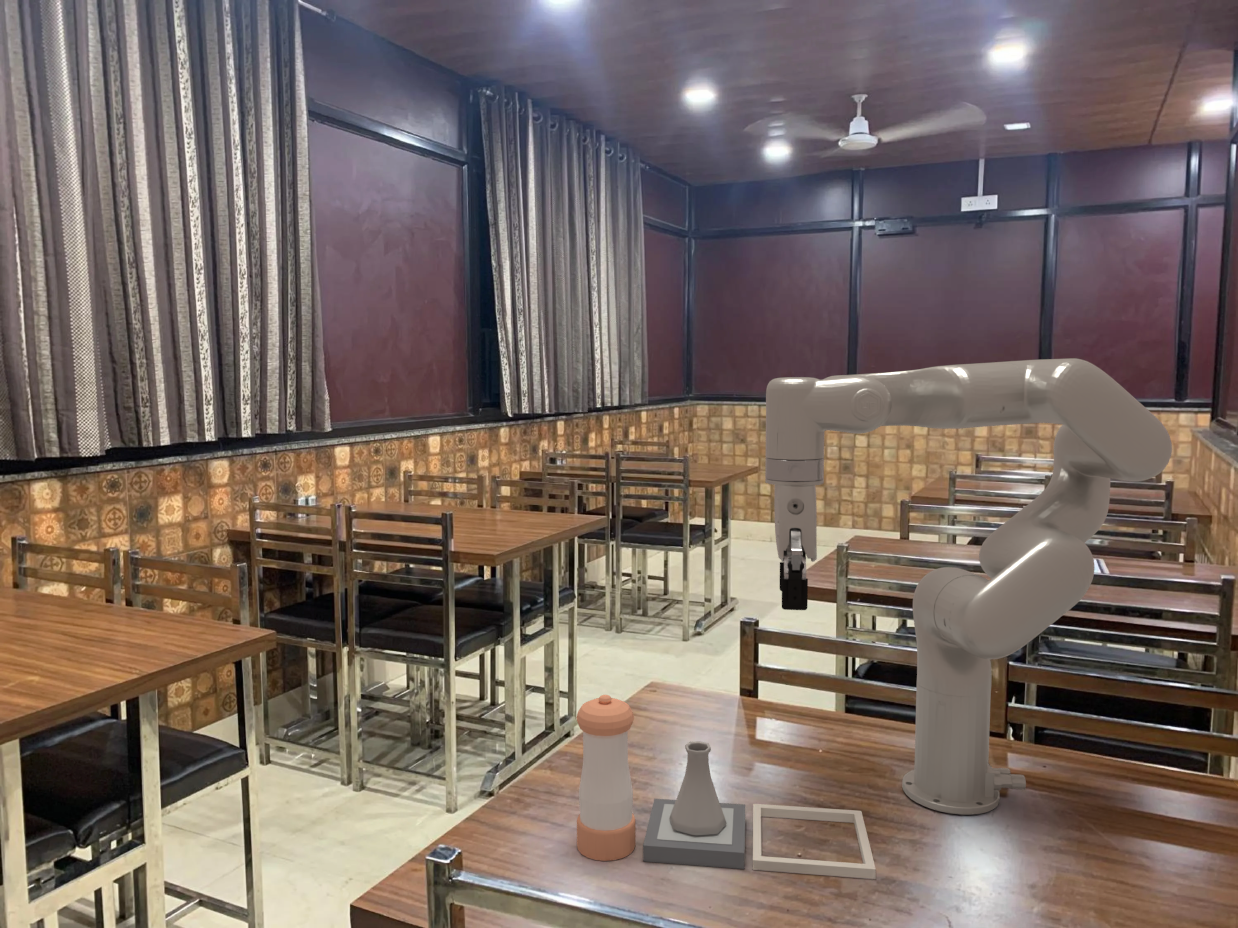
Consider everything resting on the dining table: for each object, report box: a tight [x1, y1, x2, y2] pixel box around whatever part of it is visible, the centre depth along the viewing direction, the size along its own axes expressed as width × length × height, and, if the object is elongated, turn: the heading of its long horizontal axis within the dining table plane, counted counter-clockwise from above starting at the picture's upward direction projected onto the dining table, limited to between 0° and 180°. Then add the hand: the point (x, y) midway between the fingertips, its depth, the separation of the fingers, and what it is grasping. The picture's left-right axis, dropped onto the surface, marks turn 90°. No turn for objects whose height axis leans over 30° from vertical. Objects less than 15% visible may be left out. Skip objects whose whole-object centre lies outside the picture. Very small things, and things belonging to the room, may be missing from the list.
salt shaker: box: [576, 694, 637, 862], centre depth 108 cm, size 7×7×19 cm
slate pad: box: [642, 798, 746, 870], centre depth 111 cm, size 12×12×2 cm
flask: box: [669, 740, 727, 835], centre depth 110 cm, size 7×7×10 cm
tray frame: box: [752, 803, 877, 880], centre depth 109 cm, size 14×14×1 cm
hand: (792, 599), depth 117 cm, fingers open, 9 cm apart
